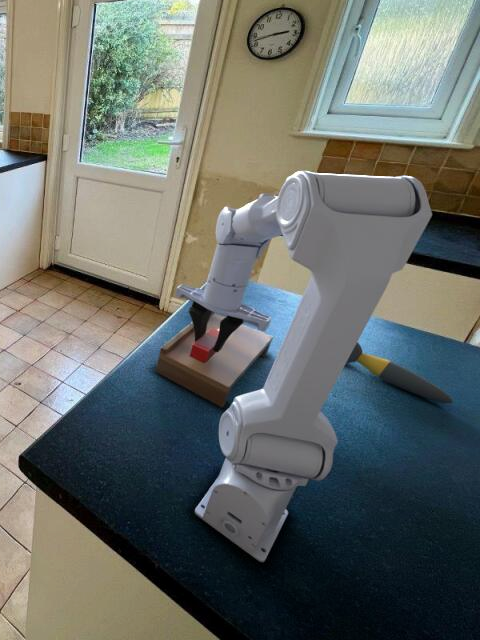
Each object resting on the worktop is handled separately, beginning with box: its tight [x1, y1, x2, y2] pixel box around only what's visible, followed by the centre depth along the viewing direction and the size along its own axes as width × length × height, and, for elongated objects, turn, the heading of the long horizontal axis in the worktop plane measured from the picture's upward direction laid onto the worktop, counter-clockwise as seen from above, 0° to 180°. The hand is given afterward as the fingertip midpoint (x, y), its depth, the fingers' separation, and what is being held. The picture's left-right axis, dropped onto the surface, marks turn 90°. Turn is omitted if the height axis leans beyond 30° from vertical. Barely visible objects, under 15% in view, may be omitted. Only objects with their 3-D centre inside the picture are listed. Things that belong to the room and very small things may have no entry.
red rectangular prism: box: [190, 328, 219, 364], centre depth 75 cm, size 10×3×3 cm, turn 130°
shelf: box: [154, 311, 274, 408], centre depth 80 cm, size 22×12×6 cm, turn 130°
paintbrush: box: [346, 341, 453, 404], centre depth 77 cm, size 20×5×5 cm, turn 38°
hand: (208, 345), depth 75 cm, fingers closed on red rectangular prism, 3 cm apart
